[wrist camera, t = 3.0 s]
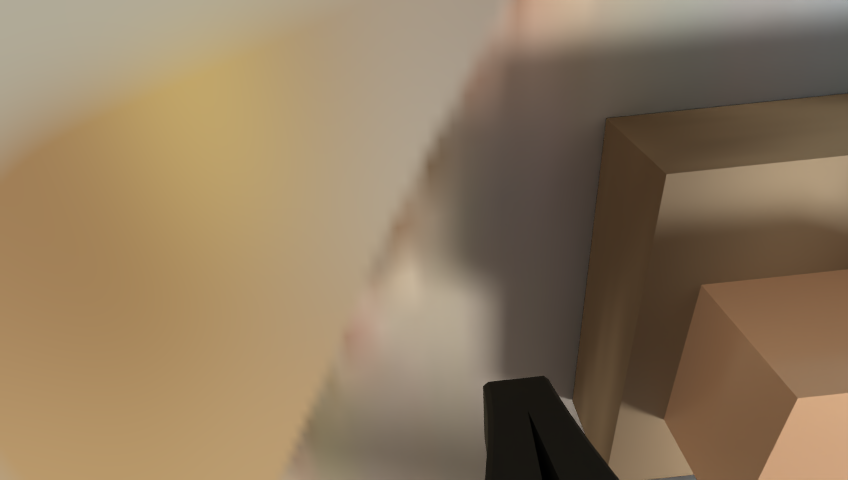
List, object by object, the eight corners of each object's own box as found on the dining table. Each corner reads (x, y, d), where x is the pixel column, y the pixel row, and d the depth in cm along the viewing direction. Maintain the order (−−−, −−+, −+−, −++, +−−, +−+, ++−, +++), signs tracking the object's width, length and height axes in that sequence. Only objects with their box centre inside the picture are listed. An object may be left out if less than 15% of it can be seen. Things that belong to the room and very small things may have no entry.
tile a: (908, 262, 11) (1068, 368, 8) (833, 401, 13) (937, 515, 11) (701, 285, 11) (797, 398, 8) (663, 419, 13) (729, 538, 11)
